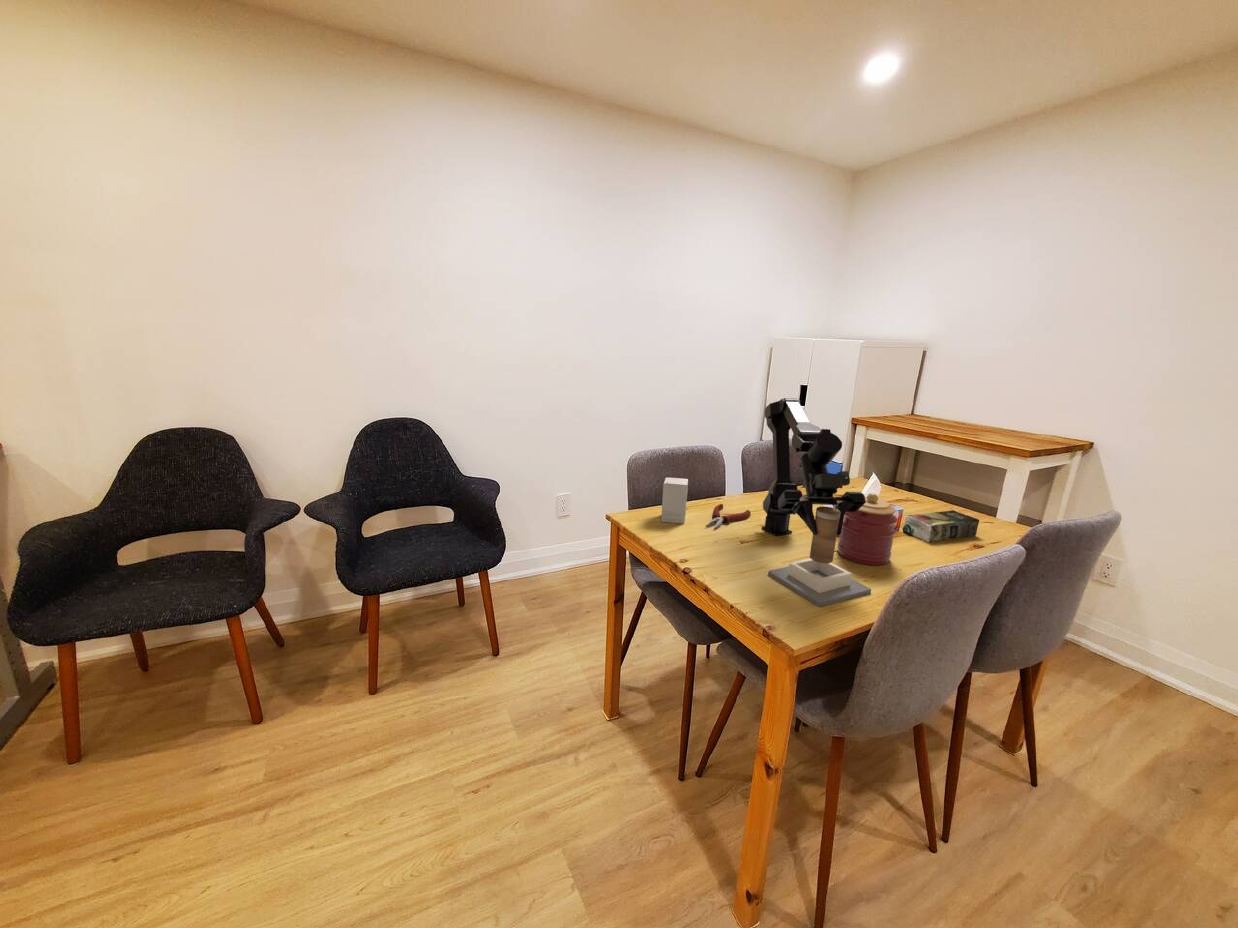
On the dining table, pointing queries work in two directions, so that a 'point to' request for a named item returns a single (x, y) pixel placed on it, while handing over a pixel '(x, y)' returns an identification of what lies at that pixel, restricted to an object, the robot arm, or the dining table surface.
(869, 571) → the dining table surface
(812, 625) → the dining table surface
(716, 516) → the pliers
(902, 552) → the dining table surface
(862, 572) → the dining table surface
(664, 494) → the supplement box
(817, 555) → the brown upright cylinder
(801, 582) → the docking plate
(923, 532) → the juice carton
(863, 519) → the canister
